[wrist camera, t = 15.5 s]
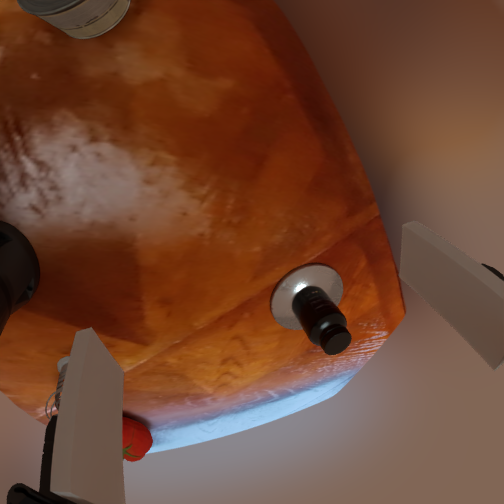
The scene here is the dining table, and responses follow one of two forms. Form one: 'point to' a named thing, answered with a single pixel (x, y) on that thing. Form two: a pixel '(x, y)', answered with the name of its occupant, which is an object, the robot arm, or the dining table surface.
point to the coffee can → (78, 15)
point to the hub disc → (296, 282)
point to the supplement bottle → (321, 320)
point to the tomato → (135, 439)
